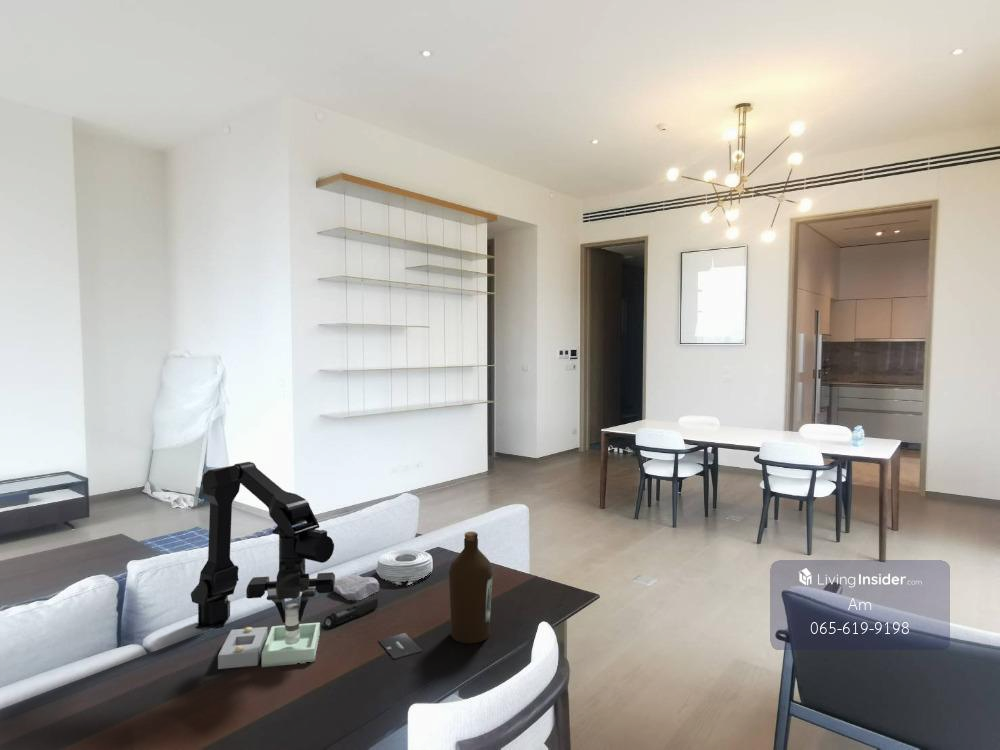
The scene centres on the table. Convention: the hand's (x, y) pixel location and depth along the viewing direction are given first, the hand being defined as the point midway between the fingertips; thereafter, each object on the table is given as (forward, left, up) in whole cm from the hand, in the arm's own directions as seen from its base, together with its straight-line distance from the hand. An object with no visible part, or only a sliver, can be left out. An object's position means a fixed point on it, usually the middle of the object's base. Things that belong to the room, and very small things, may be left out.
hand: (292, 621), depth 133 cm
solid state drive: (+24, -3, -7) cm, 26 cm away
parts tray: (0, 0, -7) cm, 7 cm away
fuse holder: (-10, 0, -7) cm, 12 cm away
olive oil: (+42, -1, -7) cm, 42 cm away
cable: (+28, +43, -7) cm, 51 cm away
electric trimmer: (+13, +15, -7) cm, 21 cm away
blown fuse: (0, 0, -4) cm, 5 cm away
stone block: (+13, +31, -7) cm, 34 cm away
